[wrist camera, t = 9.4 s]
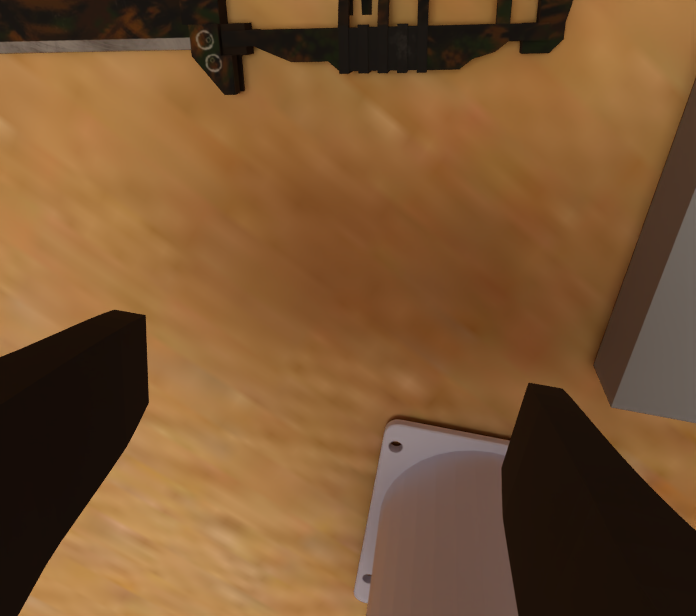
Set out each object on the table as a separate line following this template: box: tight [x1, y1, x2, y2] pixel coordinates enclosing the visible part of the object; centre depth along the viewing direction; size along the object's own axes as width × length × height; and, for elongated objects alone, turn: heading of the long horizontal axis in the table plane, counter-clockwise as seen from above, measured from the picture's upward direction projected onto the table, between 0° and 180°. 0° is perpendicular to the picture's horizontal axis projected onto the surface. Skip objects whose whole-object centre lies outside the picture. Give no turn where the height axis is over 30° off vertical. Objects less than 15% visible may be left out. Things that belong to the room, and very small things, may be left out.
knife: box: [0, 0, 573, 95], centre depth 17 cm, size 25×6×1 cm, turn 86°
